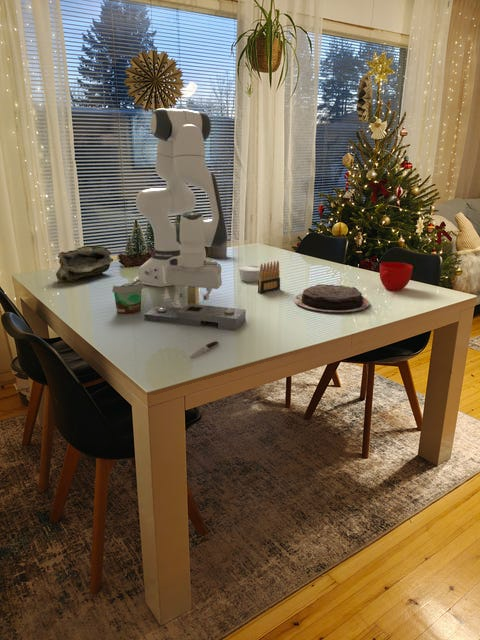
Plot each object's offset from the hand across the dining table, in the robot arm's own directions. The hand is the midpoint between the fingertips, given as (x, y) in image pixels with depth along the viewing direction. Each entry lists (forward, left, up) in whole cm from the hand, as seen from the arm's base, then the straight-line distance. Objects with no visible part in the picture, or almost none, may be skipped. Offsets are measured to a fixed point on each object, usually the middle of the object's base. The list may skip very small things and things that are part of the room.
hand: (193, 298), depth 177 cm
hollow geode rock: (-62, +26, -4) cm, 67 cm away
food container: (-18, -11, -4) cm, 22 cm away
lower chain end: (0, -13, -3) cm, 13 cm away
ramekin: (+8, +47, -4) cm, 48 cm away
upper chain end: (+12, -13, -3) cm, 18 cm away
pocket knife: (+19, -37, -4) cm, 42 cm away
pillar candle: (-23, +89, -4) cm, 92 cm away
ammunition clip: (+20, +31, -4) cm, 37 cm away
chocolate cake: (+46, +23, -4) cm, 51 cm away
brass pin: (0, 0, -4) cm, 4 cm away
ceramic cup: (+67, +50, -4) cm, 84 cm away
